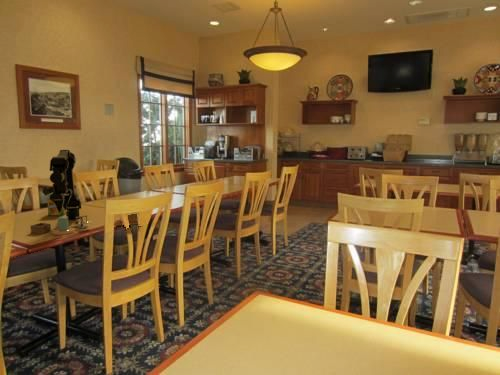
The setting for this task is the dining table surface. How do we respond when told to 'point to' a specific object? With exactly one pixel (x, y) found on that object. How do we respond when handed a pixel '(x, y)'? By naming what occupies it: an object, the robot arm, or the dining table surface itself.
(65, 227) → the block
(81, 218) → the balance
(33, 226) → the sleeve
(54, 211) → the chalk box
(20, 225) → the dining table surface
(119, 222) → the stone cup
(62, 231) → the dish
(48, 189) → the robot arm
